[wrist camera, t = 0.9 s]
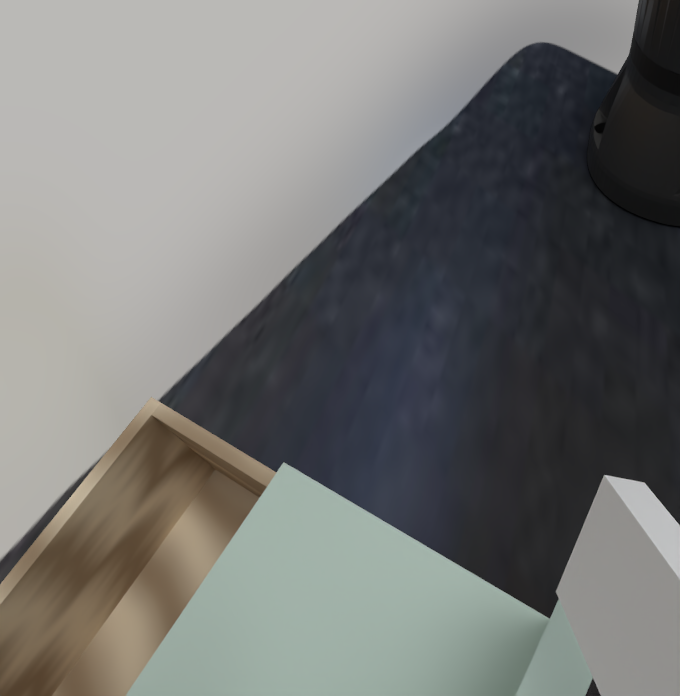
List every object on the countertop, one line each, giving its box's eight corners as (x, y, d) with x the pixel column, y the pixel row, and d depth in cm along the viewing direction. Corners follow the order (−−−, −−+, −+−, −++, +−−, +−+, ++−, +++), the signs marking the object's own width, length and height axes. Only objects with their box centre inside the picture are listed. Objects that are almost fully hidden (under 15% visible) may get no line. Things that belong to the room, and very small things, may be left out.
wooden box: (217, 457, 39) (151, 397, 32) (364, 548, 34) (324, 501, 27) (27, 719, 33) (-109, 719, 26) (167, 883, 28) (45, 942, 20)
